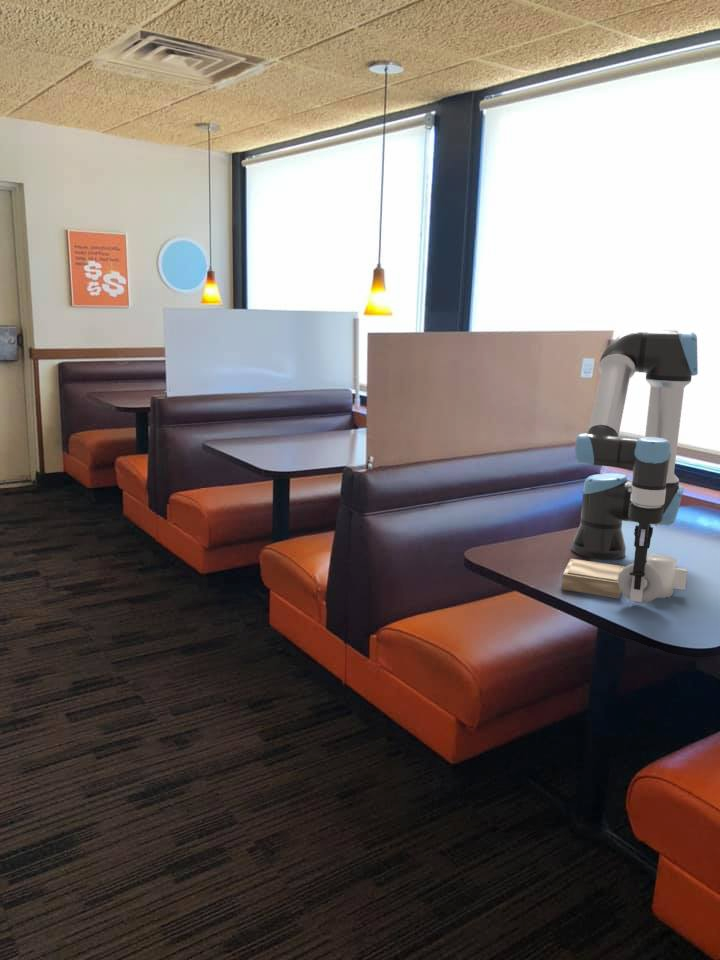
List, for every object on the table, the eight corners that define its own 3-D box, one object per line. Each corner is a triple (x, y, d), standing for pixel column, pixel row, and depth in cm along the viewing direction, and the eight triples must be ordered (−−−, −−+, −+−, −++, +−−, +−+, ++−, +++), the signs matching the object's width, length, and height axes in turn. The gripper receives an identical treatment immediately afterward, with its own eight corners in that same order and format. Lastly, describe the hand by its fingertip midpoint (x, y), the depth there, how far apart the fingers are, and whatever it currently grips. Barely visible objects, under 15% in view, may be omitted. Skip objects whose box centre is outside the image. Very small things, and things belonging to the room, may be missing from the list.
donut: (614, 600, 184) (619, 561, 182) (616, 596, 187) (621, 557, 185) (659, 608, 180) (664, 568, 178) (659, 603, 183) (665, 564, 181)
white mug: (639, 584, 199) (643, 551, 197) (684, 591, 194) (688, 557, 193) (637, 594, 191) (641, 560, 189) (684, 602, 187) (688, 567, 185)
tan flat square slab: (569, 572, 206) (570, 557, 205) (623, 580, 201) (625, 565, 200) (561, 589, 194) (562, 573, 193) (619, 598, 188) (620, 581, 187)
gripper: (632, 493, 187) (622, 583, 192) (626, 510, 172) (616, 607, 177) (665, 497, 184) (654, 588, 189) (662, 515, 169) (651, 613, 175)
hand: (636, 597), depth 183 cm, fingers closed on donut, 3 cm apart
